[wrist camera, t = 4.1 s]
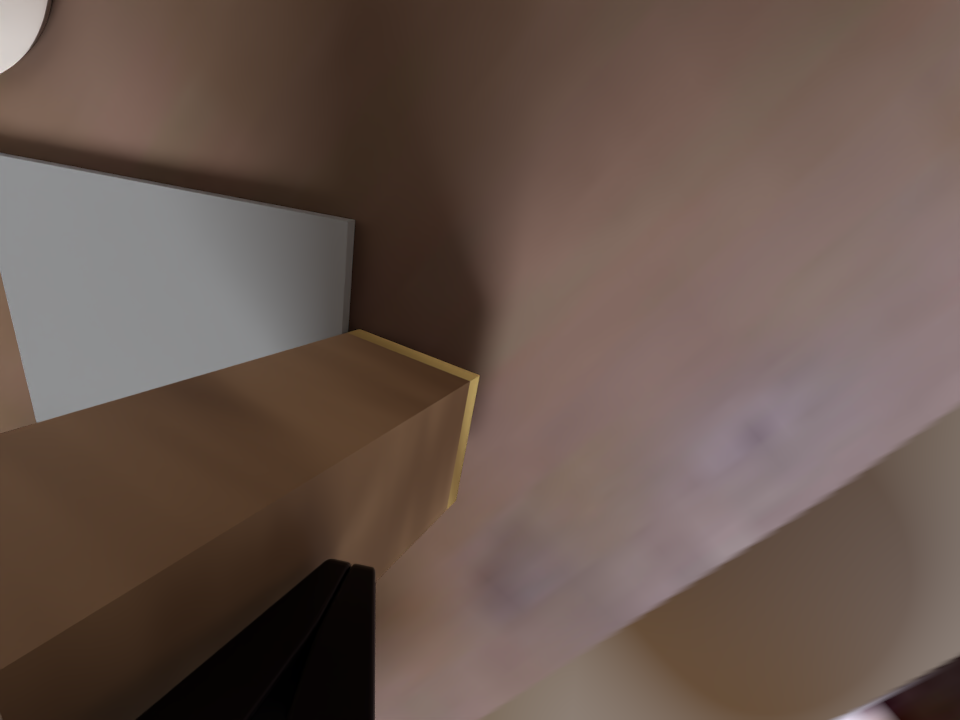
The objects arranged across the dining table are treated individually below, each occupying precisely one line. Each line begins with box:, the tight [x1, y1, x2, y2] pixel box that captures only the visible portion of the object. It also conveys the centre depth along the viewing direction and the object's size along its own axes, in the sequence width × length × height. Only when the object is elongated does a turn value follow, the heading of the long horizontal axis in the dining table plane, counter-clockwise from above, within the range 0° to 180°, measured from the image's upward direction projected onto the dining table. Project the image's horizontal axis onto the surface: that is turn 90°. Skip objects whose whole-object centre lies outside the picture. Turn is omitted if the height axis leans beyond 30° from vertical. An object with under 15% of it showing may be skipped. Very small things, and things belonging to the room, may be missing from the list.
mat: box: [0, 153, 355, 423], centre depth 14 cm, size 10×10×1 cm
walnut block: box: [0, 329, 480, 720], centre depth 9 cm, size 4×4×9 cm
